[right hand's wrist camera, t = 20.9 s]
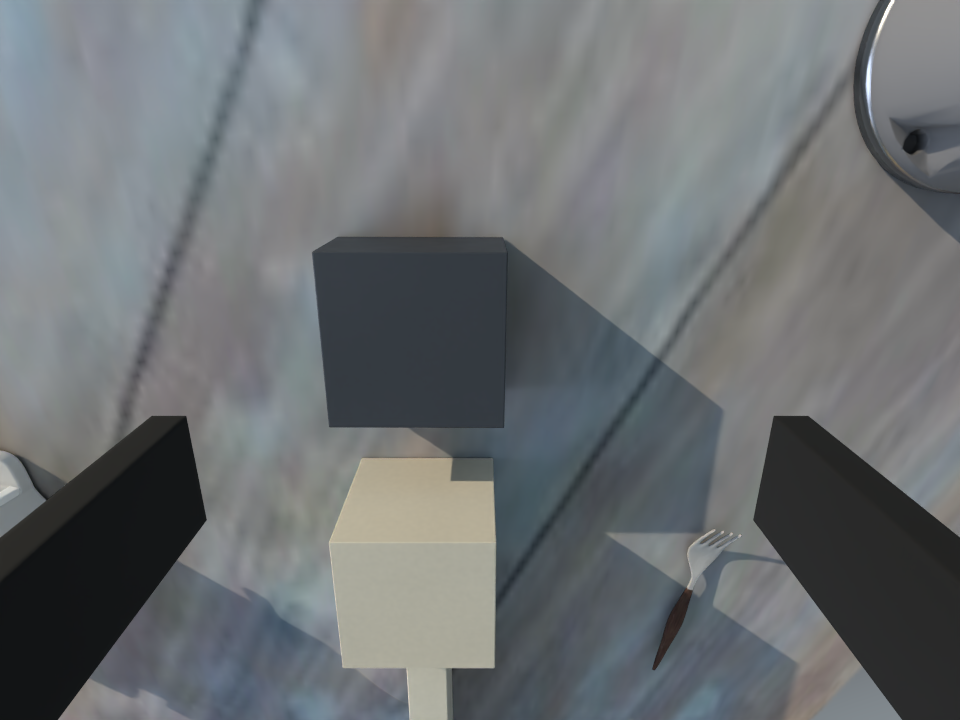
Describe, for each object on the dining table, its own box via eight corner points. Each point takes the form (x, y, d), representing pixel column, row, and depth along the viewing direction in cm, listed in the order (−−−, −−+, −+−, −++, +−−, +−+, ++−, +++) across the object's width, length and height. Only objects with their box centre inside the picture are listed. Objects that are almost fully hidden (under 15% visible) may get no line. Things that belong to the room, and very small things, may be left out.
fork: (637, 662, 50) (643, 682, 48) (702, 513, 45) (712, 529, 43) (665, 667, 50) (672, 687, 48) (733, 519, 45) (744, 536, 43)
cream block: (492, 457, 43) (496, 542, 34) (490, 766, 55) (492, 893, 45) (361, 457, 43) (328, 542, 34) (387, 766, 55) (367, 893, 45)
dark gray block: (503, 237, 37) (507, 252, 32) (500, 390, 41) (504, 428, 36) (337, 236, 37) (311, 251, 32) (349, 389, 41) (329, 427, 36)
